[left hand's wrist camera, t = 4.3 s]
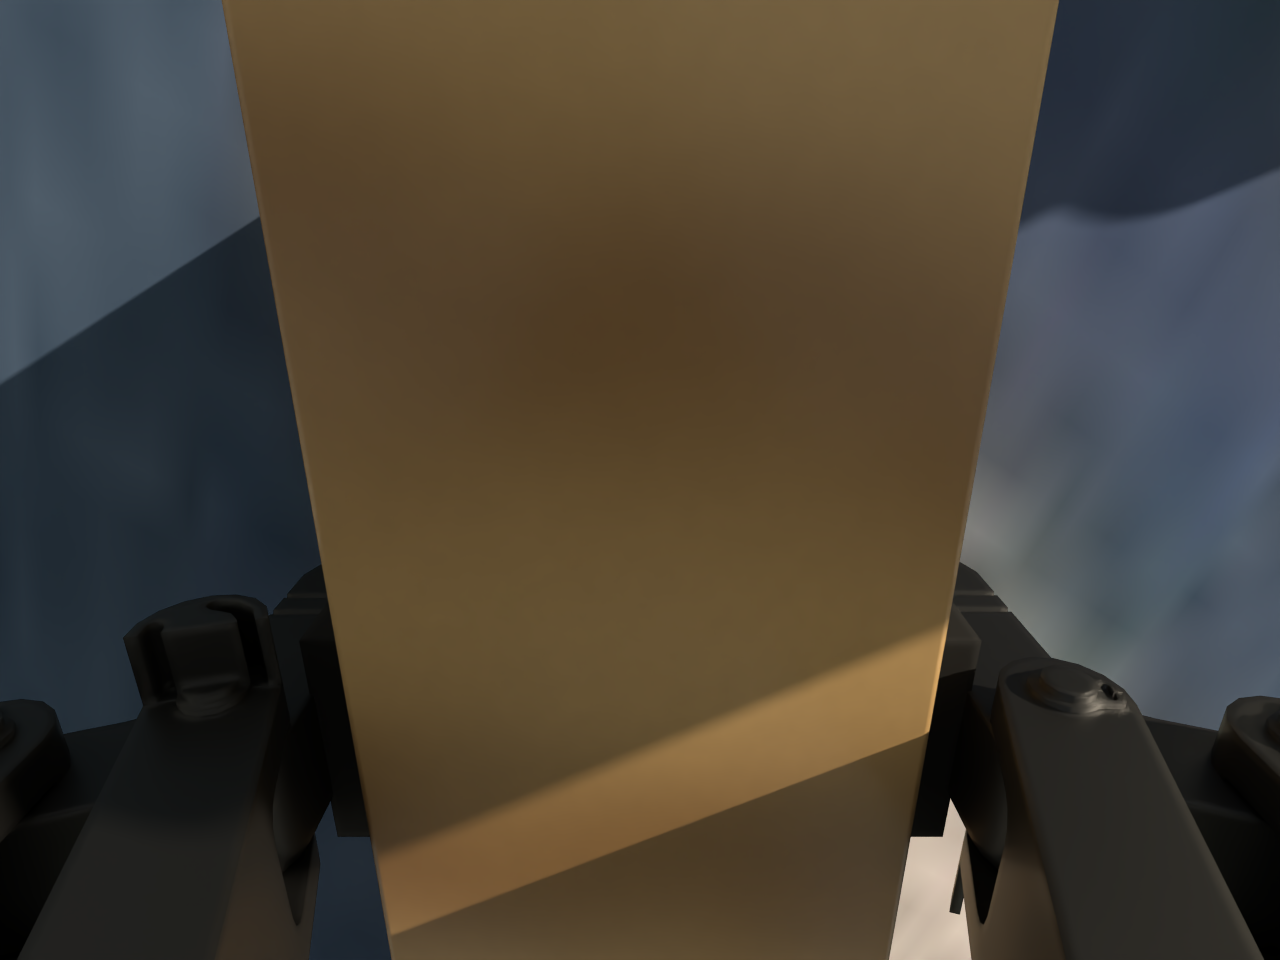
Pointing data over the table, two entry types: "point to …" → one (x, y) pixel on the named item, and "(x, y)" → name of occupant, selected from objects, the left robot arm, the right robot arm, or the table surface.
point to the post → (640, 439)
